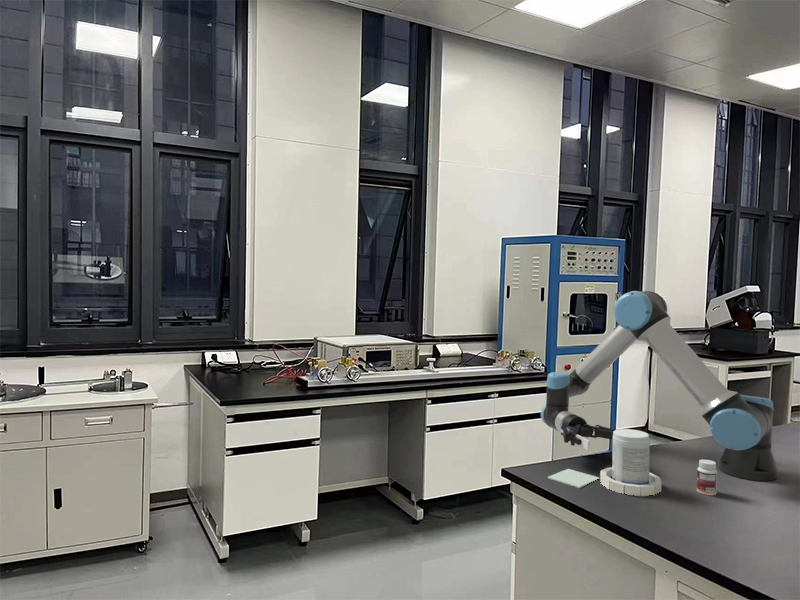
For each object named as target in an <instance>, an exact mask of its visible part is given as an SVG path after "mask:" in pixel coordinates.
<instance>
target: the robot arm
mask: <svg viewBox="0 0 800 600" xmlns="http://www.w3.org/2000/svg"><path fill="white" fill-rule="evenodd" d="M613 306H614V308H613V316H614V319H615V321H616V323H617V324H618V325H617V326H616V327H615V328H614V329H613V330H612V331H611V332H610V333H609V334H608V335H607V336H606V337H605V338H604V339H603V340H602V341H601V342H600V343H599V344H598V345H597V346H596V347H595V348H594V349H593V350H592V351H591V352H590V353H589V354H588V355H587V356H586V357H585V358H584V360H582V361H581V362H580V363H579V364H578V365H577V366H576V367H575V368H574V369H573V370H572V371H571V372H570V373H569V374H568V373H566V372H560V371H555V372H553V371H552V372H549V373H548V374H547V379H546V397H545V398H546V401H545V402H546V403H545V405H544V406H543V407H542V409H541V411H540V419H541V420H542V422H543V423H544V424H546V425H547V427H549V428H552V429H554V430H556V431H557V432H559V433H560V435H561V436H562V437H563V441H564V443H566V444H569V442H570V446H573V447H575V445H577V446H578V447H581V448H582V449H585V450H586V451H591V440H589V439H588V438H593V439H597V438H602V439H607V440H612V441H613V432H614V431H615V430H616V429H614V428H609V427H606V426H602V425H600V424H596V425H595V426H594V425H590V424H588V422H587V421H586V419H585V418H584V417H581V416H579V415H577V414H575V413H573V412H571V411H569V407H570V406H569V405H570V398H572V397H576V396H579V395H580V396H581V395H582V394H584V393H586V392H588V391H589V389H590V385H591V384H592V383H594V381H595V380H596V379H598V378H599V377H600V376H601V375H602V374H603V372H605V371H606V370H607V369H608V368H609V367H610V366H612V364H613V363H615V361H616V360H617V359H619V357H620V356H622V355H623V354H624V353H625V352H626V351H627V350H628V349H629V348H630V347H631V346H632V345H633V344H635V343H636V341H639V342H645V343H646V344H647V345H649V347H650V349H652V351H653V352H654V353H655V354H656V355H657V357H658V358H659V359H660V360H661V361H662V362H663V364H664V365H665V366H666V367H667V368H668V369H669V371H670V372H671V373H672V374H673V375H674V377H675V378H677V380H678V381H679V383H680V384H681V385H682V386H683V387H684V388H685V390H686V391H687V392H688V394H690V396H692V398H693V399H694V400H695V401H696V402H697V403H698V405H699V406H700V408H701V411H700V412H701V413H700V415H701V417H702V418H703V419H704V420H705V422H706V423H707V425H709V430H710V434H711V435H712V437H713V439H714V440H715V441H716V442H717V443H718V444H719V445H721V446H722V447H723V449H722V451H721V454H720V456H719V459H718V462H717V463H718V464H717V466H718V469H719V470H720V471H721V472H722V473H725V474H727V475H729V476H732V477H736V478H741V479H745V480H751V481H761V482H762V481H765V482H766V481H767V482H768V481H774V480H777V479H778V473H779V472H778V470H779V469H778V466H777V464H776V463H777V462H776V459H775V456H774V454H773V452H772V450H773V449H772V441H773V416H774V411H775V408H774V402H773V400H772V399H770V398H767V397H761V396H753V395H746V394H745V395H744V394H740V393H739V392H738V391H733V390H729V389H727V387H726V386H725V384H723V382H721V381H720V380H719V378H718V377H717V376H716V375H715V374H714V373H713V372H712V371H711V369H710V368H709V367H708V365H706V363H705V362H704V361H703V360H702V359H701V358H700V357H699V355H697V353H696V352H695V351H694V349H692V348H691V347H690V346H689V344H688V343H687V342H686V340H684V339H683V338H682V337H681V335H680V334H679V333H678V332H677V331H676V330H675V328H674V327H673V326H672V325H671V319H672V318H671V317H670V315H669V314H668V305H667V303H666V301H665V299H664V298H663V297H662V296H661V295H660V294H659V293H657V292H654V291H651V290H650V291H649V290H647V291H646V290H644V291H640V290H632V291H628V292H626V293H624V294H622V295H621V296H619V297H618V299H617V300H616V302H615V303H614V305H613ZM593 434H594V435H593Z"/></svg>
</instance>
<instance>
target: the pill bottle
mask: <svg viewBox="0 0 800 600" xmlns="http://www.w3.org/2000/svg"><path fill="white" fill-rule="evenodd" d="M716 468H717V463H716V461H714V460H710V459H699V461H698V467H697V469H696V472H697V475H696V477H697V478H696V492H697V493H699V494H702V495H704V496H716V495H717V491H718V486H717V485H718V470H717V469H716Z"/></svg>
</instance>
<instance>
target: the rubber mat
mask: <svg viewBox="0 0 800 600" xmlns="http://www.w3.org/2000/svg"><path fill="white" fill-rule="evenodd" d="M548 479H549V480H551V481H555V482H558V483H562V484H565V485H566V486H567V485H568V486H571V487H573V486H574V487H573V488H577V489H581V488H584V487H585V486H588V485H589V483H590V484H592V483H594V482H596V481H598V480H597V479H599V480H600V476H599V477H598V476H595V475H592V474H588V473H584V472H581V471H577V470H574V469H570V468H567V469H564V470H561V471H559V472H556V473H554V474H552V475H548V476H547V480H548ZM595 480H596V481H595ZM593 481H594V482H593ZM591 482H592V483H591ZM587 484H588V485H587Z"/></svg>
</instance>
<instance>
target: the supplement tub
mask: <svg viewBox="0 0 800 600" xmlns="http://www.w3.org/2000/svg"><path fill="white" fill-rule="evenodd" d="M650 442H651V441H650V434H649V433H648V432H645V431H642V430H639V429H638V430H637V429H629V428H620V429H615V431H614V432H613V440H612V451H611V452H612V453H611V454H612V462H611V464H612V465H611V467H612V478H611V479H613V480H615V481H619V482H622V483H627V484H635V485H645V484H649V473H650V449H651V448H650Z"/></svg>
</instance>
